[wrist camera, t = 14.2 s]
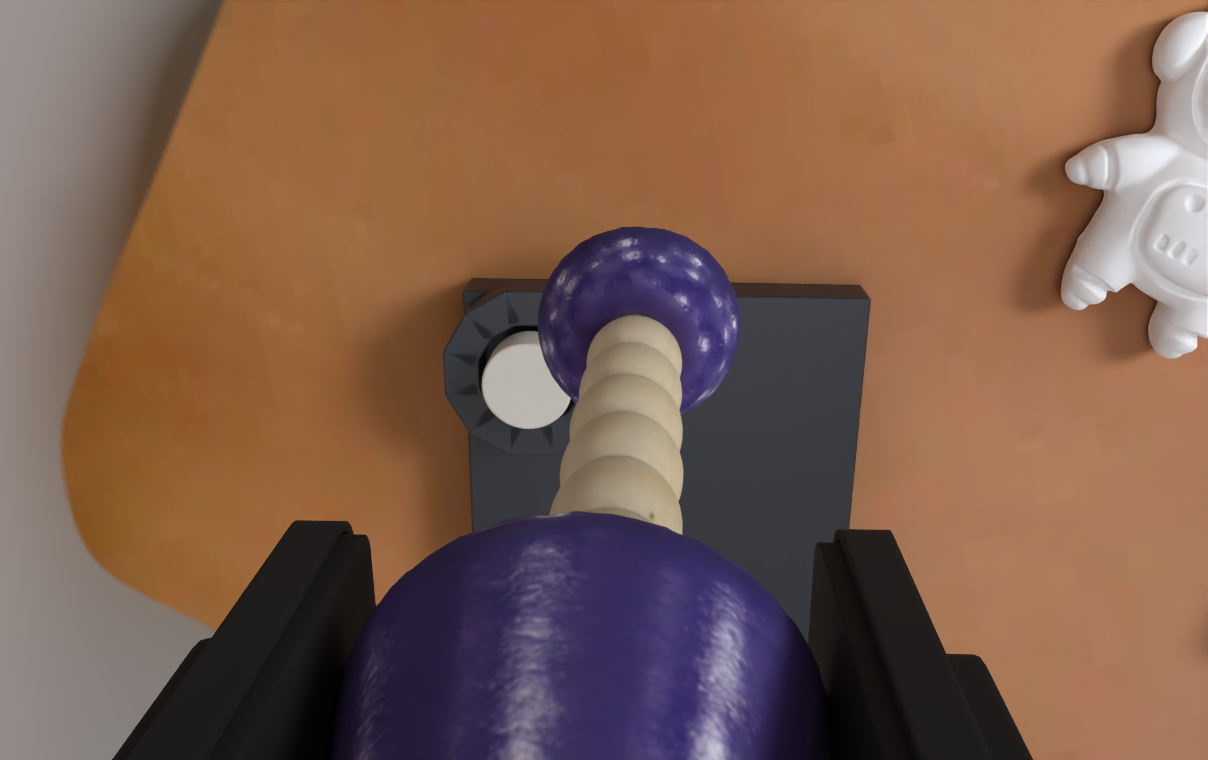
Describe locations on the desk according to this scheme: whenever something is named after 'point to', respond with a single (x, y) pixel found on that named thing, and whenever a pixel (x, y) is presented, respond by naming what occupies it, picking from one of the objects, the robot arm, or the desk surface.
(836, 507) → the scale
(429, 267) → the desk surface
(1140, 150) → the white flat figure
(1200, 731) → the desk surface
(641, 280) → the toy lamp
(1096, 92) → the desk surface
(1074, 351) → the desk surface
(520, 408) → the button
